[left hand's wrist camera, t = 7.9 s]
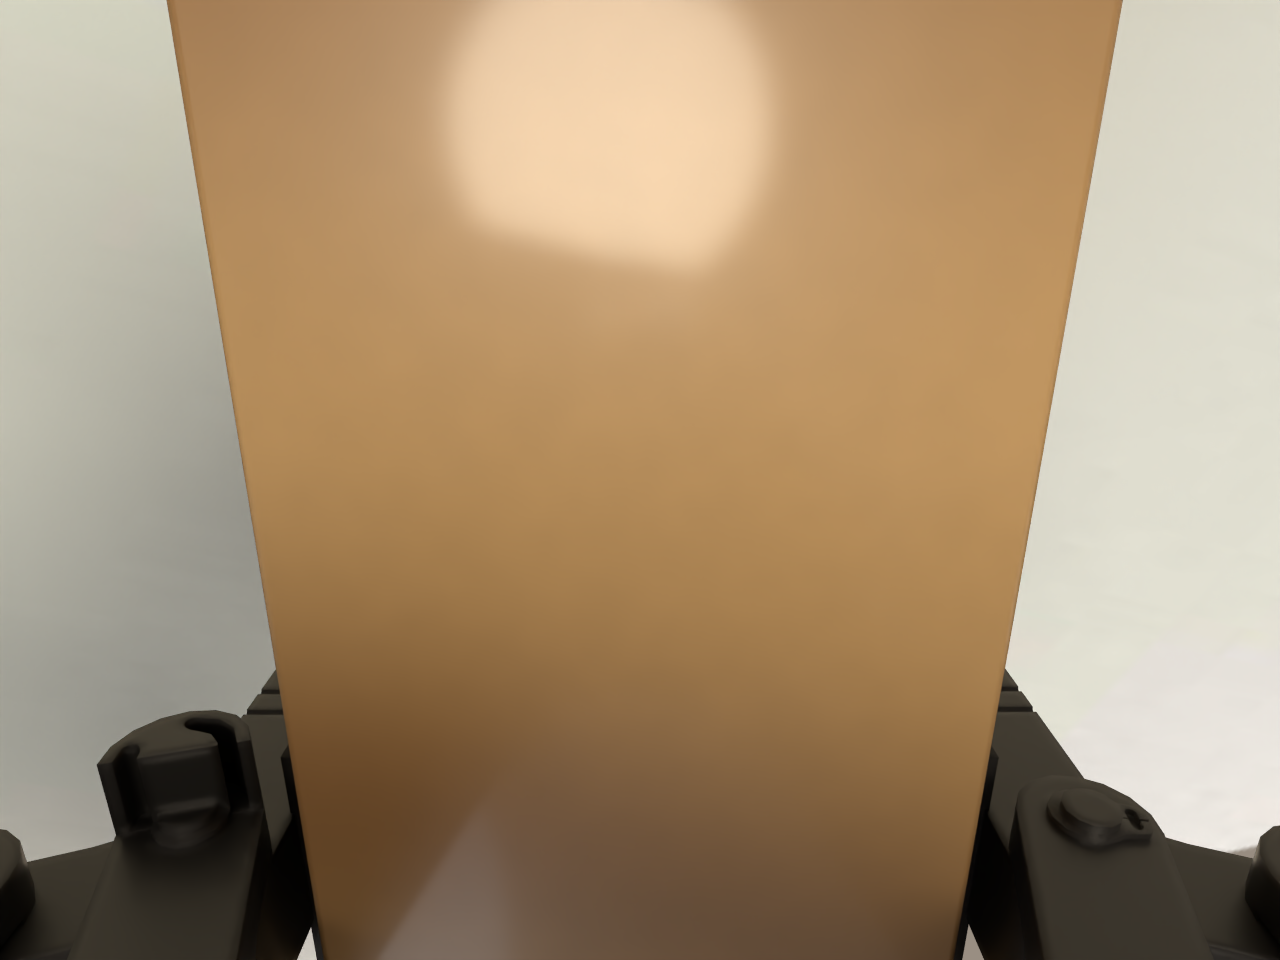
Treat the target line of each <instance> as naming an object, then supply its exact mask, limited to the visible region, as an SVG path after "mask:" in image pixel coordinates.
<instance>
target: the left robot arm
mask: <svg viewBox="0 0 1280 960" xmlns="http://www.w3.org/2000/svg"><path fill="white" fill-rule="evenodd" d="M1032 708H1033V707H1032V705H1031V704H1030V703H1029V701H1028V700H1027V698H1026V697H1025V696H1024V694H1023V693H1022V691H1018V686H1017V684H1016V683H1015V682H1014V680H1013V679H1012V677H1011V676H1010V675H1009V673H1008V672H1007V671H1006V669H1005V670H1004V676H1003V681H1002V687H1001V693H1000V698H999V704H998V710H997V715H996V721H995V727H994V732H993V738H992V744H991V749H990V755H989V761H988V766H987V772H986V778H985V783H984V789H983V795H982V800H981V806H980V812H979V817H978V823H977V829H976V834H975V840H974V846H973V851H972V857H971V863H970V868H969V874H968V880H967V885H966V891H965V897H964V902H963V908H962V914H961V919H960V925H959V931H958V937H957V942H956V948H955V953H954V959H953V960H962V958H963V952H964V947H965V941H966V935H967V930H968V925H969V926H970V928H971V930H972V932H973V935H974V937H975V939H976V942H977V944H978V946H979V949H980V951H981V953H982V956H983V958H984V960H1280V826H1273V827H1272V828H1271V829H1270V830H1268V831H1267V832H1266V833H1265V834H1263V835H1262V836H1261V837H1260V840H1259V843H1258V846H1257V849H1256V852H1255V855H1254V858H1253V859H1252V858H1248V857H1244V856H1239V855H1235V854H1230V853H1226V852H1221V851H1217V850H1212V849H1208V848H1204V847H1199V846H1195V845H1190V844H1186V843H1183V842H1179V841H1176V840H1173V839H1169V838H1166V837H1165V835H1164V833H1163V832H1162V830H1161V829H1160V827H1159V826H1158V824H1157V823H1156V821H1155V820H1154V818H1153V817H1152V815H1151V814H1150V813H1148V812H1147V811H1146V810H1145V809H1143V808H1142V807H1141V806H1140V805H1138V804H1137V803H1136V802H1135V801H1134V800H1132V799H1131V798H1130V797H1128V796H1126V795H1124V794H1122V793H1120V792H1118V791H1116V790H1114V789H1112V788H1110V787H1108V786H1106V785H1104V784H1101V783H1098V782H1094V781H1090V780H1087V779H1084V778H1083V776H1082V775H1081V773H1080V772H1079V771H1078V769H1077V768H1076V767H1075V765H1074V764H1073V762H1072V761H1071V760H1070V758H1069V757H1068V755H1067V754H1066V753H1065V751H1064V750H1063V748H1062V747H1061V746H1060V744H1059V743H1058V741H1057V740H1056V739H1055V737H1054V736H1053V735H1052V733H1051V732H1050V730H1049V729H1048V728H1047V726H1046V725H1045V723H1044V722H1043V721H1042V719H1041V718H1040V716H1039V715H1038V714H1037V712H1033V709H1032ZM97 767H98V771H99V775H100V778H101V782H102V786H103V789H104V793H105V796H106V800H107V804H108V807H109V811H110V815H111V818H112V822H113V826H114V829H115V833H116V837H115V839H114V841H112V842H109V843H106V844H102V845H99V846H95V847H92V848H87V849H83V850H79V851H74V852H70V853H65V854H61V855H57V856H52V857H48V858H43V859H39V860H34V861H30V862H27V861H26V858H25V855H24V852H23V849H22V846H21V843H20V840H18V839H17V838H16V837H15V836H13V835H12V834H11V833H10V832H8V831H7V830H2V829H0V960H297V958H298V956H299V954H300V951H301V949H302V947H303V944H304V942H305V940H306V937H307V935H308V933H309V930H310V928H311V929H312V934H313V940H314V945H315V951H316V956H317V960H324V958H323V952H322V946H321V940H320V934H319V928H318V921H317V915H316V909H315V903H314V897H313V891H312V885H311V879H310V873H309V866H308V860H307V854H306V848H305V842H304V836H303V830H302V824H301V818H300V812H299V805H298V799H297V793H296V787H295V781H294V775H293V769H292V763H291V757H290V750H289V744H288V738H287V732H286V726H285V720H284V714H283V708H282V702H281V695H280V689H279V683H278V677H277V671H276V670H275V671H274V673H273V674H272V676H271V677H270V678H269V680H268V681H267V683H266V684H265V685H264V687H263V688H262V692H261V694H258V695H257V697H256V698H255V699H254V701H253V702H252V704H251V705H250V706H249V708H248V709H247V715H243V716H242V718H241V719H240V718H239V717H238V716H237V715H234V714H230V713H226V712H221V711H217V710H210V711H189V712H185V713H181V714H177V715H173V716H169V717H165V718H161V719H159V720H156V721H154V722H152V723H150V724H148V725H145V726H143V727H141V728H139V729H136V730H134V731H132V732H131V733H130V734H128V735H127V736H125V737H124V738H123V739H121V740H120V741H118V742H117V743H116V744H114V745H113V746H111V747H110V749H109V750H108V751H107V752H106V754H105V755H104V756H103V758H102V759H101V760H100V761H99V763H98V764H97Z"/></svg>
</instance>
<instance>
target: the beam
mask: <svg viewBox="0 0 1280 960" xmlns="http://www.w3.org/2000/svg"><path fill="white" fill-rule="evenodd" d="M1122 1H1123V0H167V5H168V11H169V17H170V23H171V29H172V36H173V42H174V48H175V54H176V60H177V66H178V72H179V78H180V84H181V90H182V97H183V103H184V109H185V115H186V121H187V127H188V133H189V139H190V145H191V152H192V158H193V164H194V170H195V176H196V182H197V188H198V194H199V200H200V207H201V213H202V219H203V225H204V231H205V237H206V243H207V249H208V255H209V262H210V268H211V274H212V280H213V286H214V292H215V298H216V304H217V310H218V317H219V323H220V329H221V335H222V341H223V347H224V353H225V359H226V365H227V372H228V378H229V384H230V390H231V396H232V402H233V408H234V414H235V420H236V427H237V433H238V439H239V445H240V451H241V457H242V463H243V469H244V475H245V482H246V488H247V494H248V500H249V506H250V512H251V518H252V524H253V530H254V537H255V543H256V549H257V555H258V561H259V567H260V573H261V579H262V585H263V592H264V598H265V604H266V610H267V616H268V622H269V628H270V634H271V640H272V647H273V653H274V659H275V665H276V671H277V677H278V683H279V689H280V695H281V702H282V708H283V714H284V720H285V726H286V732H287V738H288V744H289V750H290V757H291V763H292V769H293V775H294V781H295V787H296V793H297V799H298V805H299V812H300V818H301V824H302V830H303V836H304V842H305V848H306V854H307V860H308V866H309V873H310V879H311V885H312V891H313V897H314V903H315V909H316V915H317V921H318V928H319V934H320V940H321V946H322V952H323V958H324V960H953V959H954V953H955V948H956V942H957V937H958V931H959V925H960V919H961V914H962V908H963V902H964V897H965V891H966V885H967V880H968V874H969V868H970V863H971V857H972V851H973V846H974V840H975V834H976V829H977V823H978V817H979V812H980V806H981V800H982V795H983V789H984V783H985V778H986V772H987V766H988V761H989V755H990V749H991V744H992V738H993V732H994V727H995V721H996V715H997V710H998V704H999V698H1000V693H1001V687H1002V681H1003V676H1004V670H1005V664H1006V659H1007V653H1008V647H1009V642H1010V636H1011V630H1012V625H1013V619H1014V613H1015V608H1016V602H1017V596H1018V591H1019V585H1020V579H1021V574H1022V568H1023V562H1024V557H1025V551H1026V545H1027V540H1028V534H1029V528H1030V523H1031V517H1032V511H1033V506H1034V500H1035V494H1036V489H1037V483H1038V477H1039V472H1040V466H1041V460H1042V455H1043V449H1044V443H1045V438H1046V432H1047V426H1048V421H1049V415H1050V409H1051V404H1052V398H1053V392H1054V387H1055V381H1056V375H1057V370H1058V364H1059V358H1060V353H1061V347H1062V341H1063V336H1064V330H1065V324H1066V319H1067V313H1068V307H1069V302H1070V296H1071V290H1072V285H1073V279H1074V273H1075V268H1076V262H1077V256H1078V251H1079V245H1080V239H1081V234H1082V228H1083V222H1084V217H1085V211H1086V205H1087V200H1088V194H1089V188H1090V183H1091V177H1092V171H1093V166H1094V160H1095V154H1096V149H1097V143H1098V137H1099V132H1100V126H1101V120H1102V115H1103V109H1104V103H1105V98H1106V92H1107V86H1108V81H1109V75H1110V69H1111V64H1112V58H1113V52H1114V47H1115V41H1116V35H1117V30H1118V24H1119V18H1120V13H1121V7H1122Z"/></svg>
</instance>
